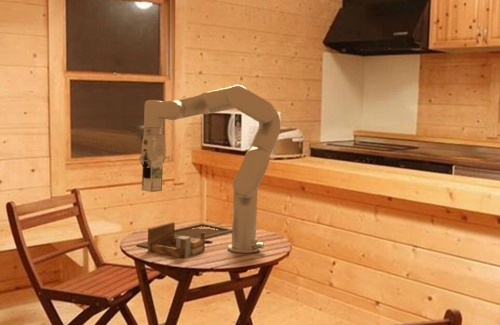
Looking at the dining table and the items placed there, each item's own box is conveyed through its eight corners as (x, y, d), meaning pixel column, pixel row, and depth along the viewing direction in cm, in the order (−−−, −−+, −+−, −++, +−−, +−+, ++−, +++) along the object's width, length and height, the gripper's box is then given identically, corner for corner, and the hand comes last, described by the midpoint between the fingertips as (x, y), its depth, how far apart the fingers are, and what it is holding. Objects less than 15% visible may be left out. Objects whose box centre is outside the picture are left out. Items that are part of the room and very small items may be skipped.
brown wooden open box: (205, 249, 230) (206, 227, 229) (182, 258, 216) (183, 234, 215) (171, 243, 238) (172, 222, 237) (147, 251, 224) (148, 228, 223)
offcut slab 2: (202, 252, 228) (203, 246, 227) (193, 255, 222) (193, 249, 222) (192, 250, 230) (192, 244, 230) (182, 253, 225) (182, 247, 224)
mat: (161, 245, 235) (161, 243, 235) (150, 248, 229) (150, 247, 229) (147, 242, 238) (147, 241, 238) (136, 246, 232) (136, 244, 232)
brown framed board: (160, 232, 253) (206, 222, 276) (160, 236, 253) (206, 225, 277) (192, 240, 241) (237, 228, 265) (192, 243, 241) (237, 232, 265)
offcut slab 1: (203, 245, 228) (203, 239, 228) (194, 249, 222) (194, 242, 222) (192, 243, 230) (192, 237, 230) (183, 247, 224) (183, 241, 224)
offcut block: (190, 254, 222) (190, 236, 221) (185, 257, 218) (185, 239, 218) (181, 253, 223) (181, 235, 223) (176, 255, 220) (176, 237, 219)
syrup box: (152, 189, 235) (153, 153, 233) (162, 191, 231) (163, 154, 229) (141, 190, 230) (142, 154, 229) (151, 192, 226) (152, 155, 225)
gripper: (147, 133, 219) (146, 180, 221) (174, 131, 234) (172, 176, 236) (131, 131, 222) (130, 178, 224) (159, 130, 237) (157, 174, 239)
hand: (152, 176), depth 230 cm, fingers closed on syrup box, 6 cm apart
